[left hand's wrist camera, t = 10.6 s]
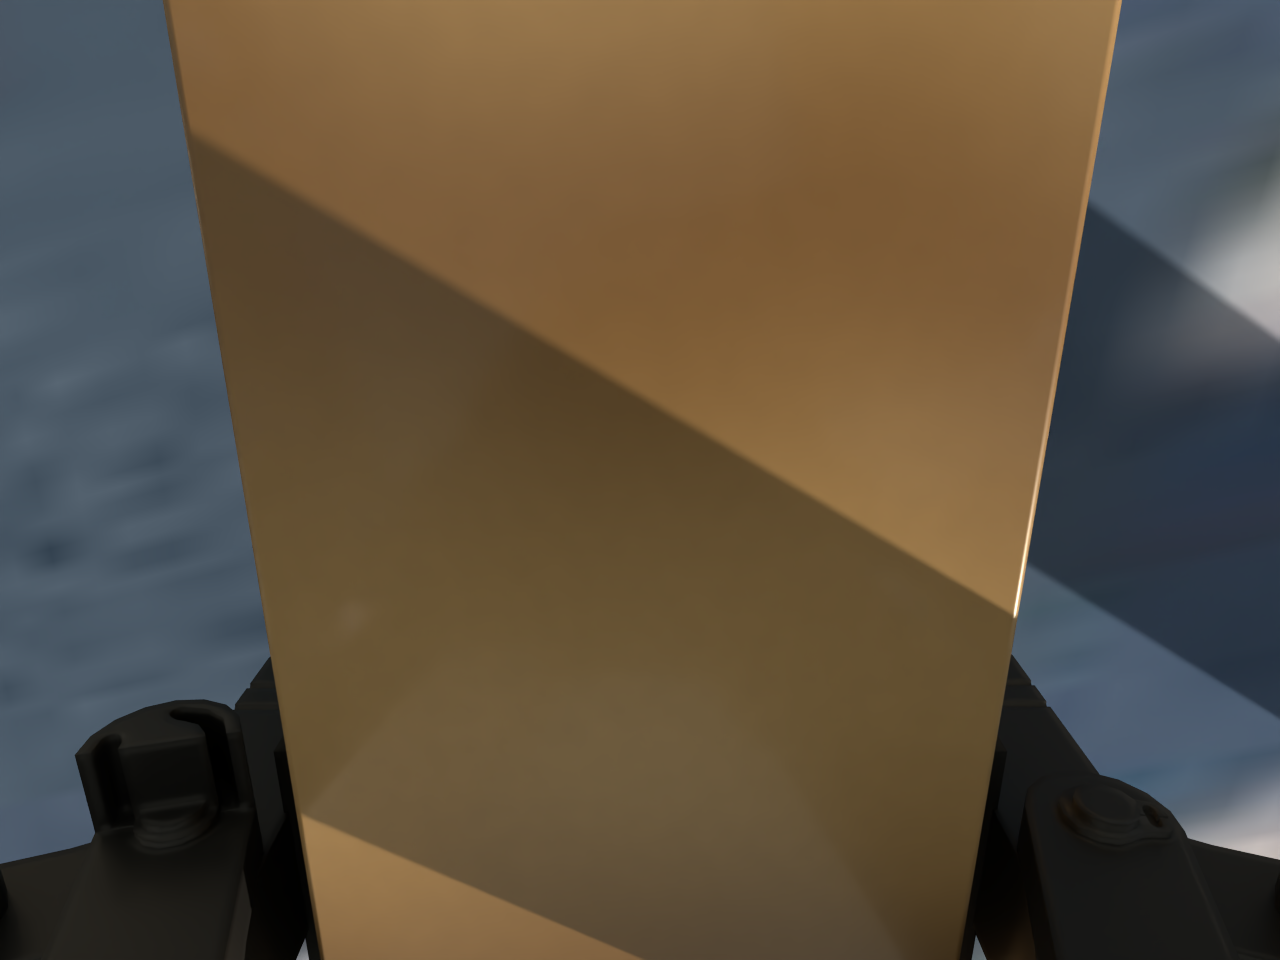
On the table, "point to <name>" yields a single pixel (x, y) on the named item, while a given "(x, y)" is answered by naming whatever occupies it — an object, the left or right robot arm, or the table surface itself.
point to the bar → (641, 447)
